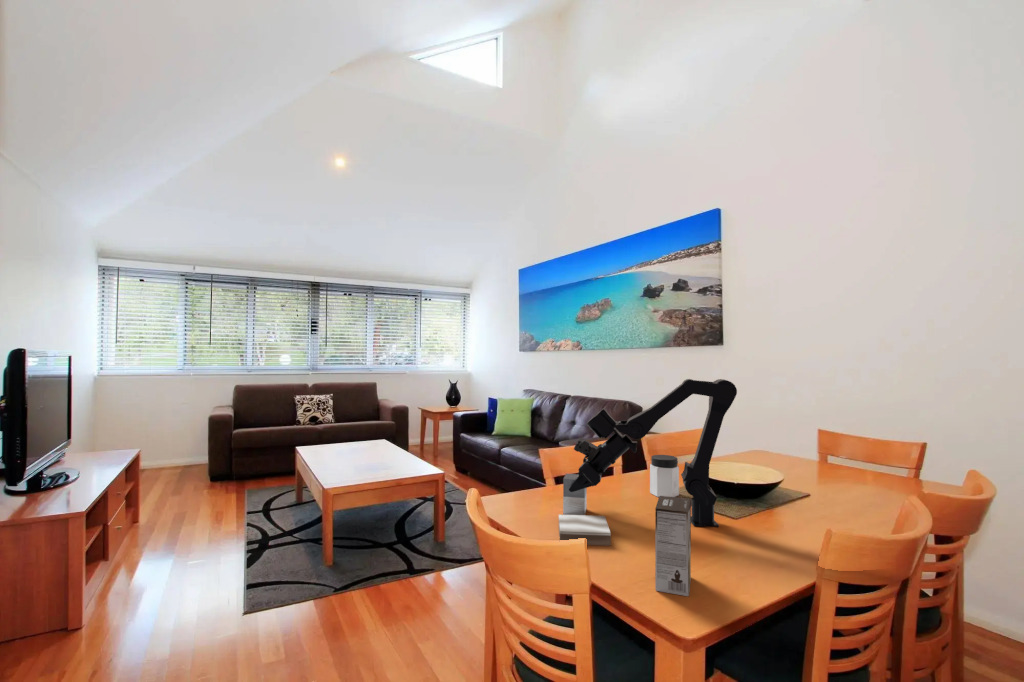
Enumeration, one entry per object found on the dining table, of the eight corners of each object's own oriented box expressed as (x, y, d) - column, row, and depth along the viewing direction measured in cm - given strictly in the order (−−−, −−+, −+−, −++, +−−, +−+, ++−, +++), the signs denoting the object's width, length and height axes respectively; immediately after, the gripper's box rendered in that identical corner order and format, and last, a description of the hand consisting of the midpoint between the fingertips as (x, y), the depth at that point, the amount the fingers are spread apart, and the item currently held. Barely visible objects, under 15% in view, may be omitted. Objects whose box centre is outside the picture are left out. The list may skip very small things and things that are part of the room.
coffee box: (658, 571, 102) (658, 494, 102) (691, 576, 99) (691, 498, 100) (654, 591, 93) (654, 507, 94) (690, 597, 91) (690, 511, 91)
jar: (669, 500, 151) (669, 461, 151) (645, 494, 157) (646, 457, 157) (682, 494, 157) (682, 457, 158) (660, 489, 163) (660, 453, 163)
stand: (610, 545, 115) (610, 532, 115) (559, 543, 116) (560, 531, 116) (604, 527, 127) (604, 515, 127) (558, 525, 128) (558, 514, 128)
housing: (586, 509, 142) (586, 475, 142) (584, 516, 136) (584, 480, 136) (566, 507, 143) (566, 473, 143) (563, 514, 137) (563, 478, 137)
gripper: (593, 424, 148) (557, 458, 150) (588, 434, 130) (546, 472, 132) (619, 452, 146) (582, 486, 148) (617, 466, 128) (575, 504, 130)
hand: (571, 486), depth 140 cm, fingers open, 9 cm apart
